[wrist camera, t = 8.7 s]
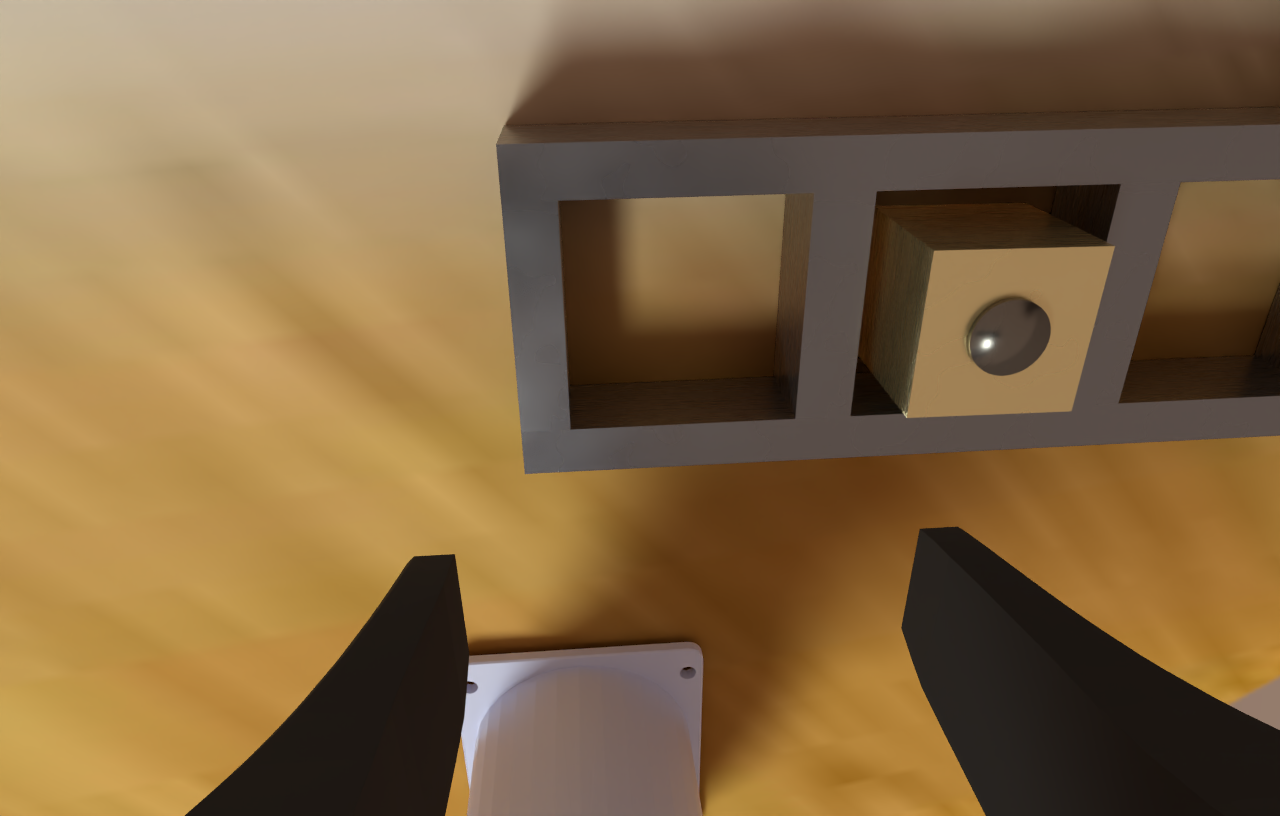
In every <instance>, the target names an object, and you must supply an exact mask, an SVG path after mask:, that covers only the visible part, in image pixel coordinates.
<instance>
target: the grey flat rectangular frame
mask: <svg viewBox="0 0 1280 816" xmlns="http://www.w3.org/2000/svg"><path fill="white" fill-rule="evenodd" d="M496 147H497V159H498V170H499V182H500V193H501V205H502V216H503V228H504V239H505V251H506V262H507V274H508V285H509V297H510V308H511V319H512V331H513V342H514V354H515V365H516V377H517V388H518V400H519V411H520V423H521V434H522V446H523V457H524V469H525V474H532V473H552V472H571V471H591V470H611V469H630V468H650V467H670V466H689V465H709V464H729V463H748V462H768V461H788V460H807V459H827V458H847V457H866V456H886V455H906V454H925V453H945V452H965V451H984V450H1004V449H1024V448H1043V447H1063V446H1083V445H1102V444H1122V443H1142V442H1161V441H1181V440H1201V439H1220V438H1240V437H1260V436H1279V435H1280V285H1279V288H1278V290H1277V293H1276V296H1275V299H1274V302H1273V304H1272V307H1271V310H1270V313H1269V316H1268V319H1267V321H1266V324H1265V327H1264V330H1263V333H1262V335H1261V338H1260V341H1259V344H1258V347H1257V350H1256V352H1255V355H1252V356H1229V357H1206V358H1184V359H1161V360H1138V361H1130V360H1131V357H1132V353H1133V350H1134V346H1135V342H1136V339H1137V335H1138V332H1139V328H1140V325H1141V321H1142V318H1143V314H1144V311H1145V307H1146V303H1147V300H1148V296H1149V293H1150V289H1151V286H1152V282H1153V279H1154V275H1155V271H1156V268H1157V264H1158V261H1159V257H1160V254H1161V250H1162V247H1163V243H1164V239H1165V236H1166V232H1167V229H1168V225H1169V222H1170V218H1171V215H1172V211H1173V207H1174V204H1175V200H1176V197H1177V193H1178V190H1179V186H1180V183H1181V182H1201V181H1234V180H1268V179H1280V107H1258V108H1217V109H1175V110H1133V111H1091V112H1049V113H1008V114H966V115H924V116H882V117H841V118H799V119H757V120H715V121H673V122H632V123H590V124H548V125H506V126H504V127H503V129H502V132H501V134H500V137H499V139H498V141H497V144H496ZM1033 186H1057V189H1056V194H1055V199H1054V203H1053V208H1052V212H1051V215H1052V216H1054V217H1056V218H1058V219H1060V220H1062V221H1064V222H1066V223H1068V224H1071V225H1073V226H1075V227H1077V228H1079V229H1081V230H1083V231H1085V232H1087V233H1089V234H1091V235H1093V236H1095V237H1097V238H1099V239H1101V240H1104V241H1106V242H1108V243H1110V244H1112V245H1114V246H1115V248H1114V252H1113V256H1112V259H1111V263H1110V267H1109V271H1108V275H1107V278H1106V282H1105V286H1104V290H1103V294H1102V297H1101V301H1100V305H1099V309H1098V313H1097V316H1096V320H1095V324H1094V328H1093V332H1092V335H1091V339H1090V343H1089V347H1088V350H1087V354H1086V358H1085V362H1084V366H1083V369H1082V373H1081V377H1080V381H1079V385H1078V388H1077V392H1076V396H1075V400H1074V404H1073V407H1072V411H1068V412H1043V413H1018V414H993V415H968V416H943V417H918V418H906V416H905V415H904V414H903V413H902V411H901V410H900V409H899V407H898V406H897V405H896V404H895V402H894V401H893V400H892V398H891V397H890V396H889V395H888V393H887V392H886V391H885V389H884V388H883V387H882V386H881V384H880V383H879V382H878V380H877V379H876V378H875V377H874V375H873V374H872V373H871V372H867V373H856V364H857V356H858V347H859V339H860V330H861V322H862V313H863V305H864V296H865V288H866V279H867V271H868V262H869V254H870V245H871V237H872V228H873V220H874V211H875V203H876V194H877V191H899V190H933V189H966V188H1000V187H1033ZM765 194H786V198H785V212H784V227H783V242H782V256H781V271H780V286H779V300H778V315H777V330H776V344H775V359H774V374H773V377H754V378H731V379H709V380H686V381H663V382H641V383H618V384H596V385H573V386H570V375H569V357H568V339H567V321H566V303H565V284H564V266H563V248H562V230H561V212H560V201H564V200H598V199H631V198H665V197H698V196H732V195H765Z"/></svg>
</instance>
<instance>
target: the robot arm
mask: <svg viewBox="0 0 1280 816" xmlns="http://www.w3.org/2000/svg"><path fill="white" fill-rule="evenodd" d="M901 628H902V631H903V634H904V637H905V640H906V643H907V646H908V649H909V652H910V655H911V658H912V661H913V664H914V667H915V670H916V672H917V675H918V678H919V681H920V684H921V686H922V689H923V691H924V693H925V695H926V697H927V699H928V701H929V703H930V705H931V707H932V709H933V711H934V713H935V715H936V717H937V719H938V721H939V723H940V725H941V727H942V730H943V732H944V734H945V736H946V738H947V740H948V742H949V743H950V745H951V747H952V749H953V751H954V753H955V755H956V757H957V759H958V761H959V763H960V765H961V767H962V769H963V771H964V773H965V775H966V777H967V779H968V781H969V783H970V785H971V787H972V789H973V791H974V793H975V795H976V797H977V799H978V801H979V803H980V805H981V807H982V809H983V811H984V813H985V815H986V816H1280V730H1278V729H1276V728H1274V727H1272V726H1270V725H1268V724H1265V723H1263V722H1261V721H1259V720H1257V719H1255V718H1253V717H1251V716H1249V715H1247V714H1245V713H1243V712H1241V711H1239V710H1237V709H1235V708H1233V707H1231V706H1229V705H1227V704H1226V703H1224V702H1222V701H1220V700H1218V699H1216V698H1214V697H1212V696H1210V695H1209V694H1207V693H1205V692H1203V691H1202V690H1200V689H1198V688H1196V687H1194V686H1193V685H1191V684H1189V683H1187V682H1186V681H1184V680H1182V679H1180V678H1178V677H1177V676H1175V675H1173V674H1171V673H1170V672H1168V671H1166V670H1164V669H1163V668H1161V667H1159V666H1158V665H1156V664H1154V663H1153V662H1151V661H1149V660H1148V659H1146V658H1144V657H1143V656H1141V655H1140V654H1138V653H1136V652H1135V651H1133V650H1132V649H1130V648H1129V647H1127V646H1126V645H1124V644H1123V643H1121V642H1119V641H1118V640H1116V639H1115V638H1113V637H1112V636H1110V635H1109V634H1107V633H1106V632H1104V631H1102V630H1101V629H1099V628H1098V627H1096V626H1095V625H1094V624H1092V623H1091V622H1089V621H1088V620H1086V619H1085V618H1083V617H1082V616H1080V615H1079V614H1077V613H1076V612H1075V611H1073V610H1072V609H1070V608H1069V607H1068V606H1066V605H1065V604H1063V603H1062V602H1061V601H1059V600H1058V599H1056V598H1055V597H1054V596H1052V595H1051V594H1049V593H1048V592H1047V591H1045V590H1044V589H1043V588H1041V587H1040V586H1038V585H1037V584H1036V583H1034V582H1033V581H1032V580H1030V579H1029V578H1028V577H1026V576H1025V575H1024V574H1022V573H1021V572H1020V571H1018V570H1017V569H1016V568H1014V567H1013V566H1011V565H1010V564H1009V563H1007V562H1006V561H1005V560H1003V559H1002V558H1001V557H999V556H998V555H997V554H995V553H994V552H993V551H991V550H990V549H989V548H987V547H986V546H985V545H983V544H982V543H981V542H979V541H978V540H976V539H975V538H974V537H972V536H971V535H969V534H968V533H966V532H965V531H964V530H962V529H961V528H959V527H944V528H926V529H920V531H919V536H918V542H917V547H916V552H915V558H914V563H913V568H912V574H911V579H910V585H909V590H908V595H907V601H906V606H905V611H904V617H903V622H902V627H901ZM685 667H692V668H691V669H688V670H682V669H683V668H685ZM468 681H470V682H474V683H475V684H467V682H468ZM702 686H703V655H702V650H701V648H700V647H699V645H698V644H695V643H693V642H677V643H661V644H646V645H630V646H615V647H599V648H584V649H568V650H553V651H537V652H522V653H506V654H491V655H475V656H469V649H468V642H467V635H466V628H465V621H464V614H463V607H462V601H461V594H460V587H459V580H458V573H457V566H456V559H455V554H451V555H433V556H415V557H413V558H412V559H411V560H410V561H409V562H408V563H407V565H406V566H405V568H404V569H403V571H402V572H401V574H400V575H399V577H398V578H397V580H396V581H395V583H394V584H393V586H392V587H391V589H390V590H389V592H388V593H387V595H386V596H385V597H384V599H383V600H382V602H381V603H380V605H379V606H378V607H377V609H376V610H375V612H374V613H373V614H372V616H371V617H370V619H369V620H368V621H367V623H366V624H365V625H364V627H363V628H362V629H361V631H360V632H359V633H358V634H357V636H356V637H355V638H354V640H353V641H352V642H351V644H350V645H349V646H348V648H347V649H346V650H345V652H344V653H343V654H342V655H341V657H340V658H339V659H338V660H337V662H336V663H335V664H334V665H333V667H332V668H331V669H330V670H329V671H328V672H327V674H326V675H325V676H324V677H323V678H322V680H321V681H320V682H319V683H318V684H317V685H316V687H315V688H314V689H313V690H312V691H311V692H310V694H309V695H308V696H307V697H306V698H305V700H304V701H303V702H302V703H301V704H300V705H299V706H298V707H297V709H296V710H295V711H294V712H293V713H292V714H291V715H290V716H289V717H288V718H287V719H286V721H285V722H284V723H283V724H282V725H281V726H280V727H279V728H278V729H277V730H276V731H275V732H274V733H273V734H272V735H271V736H270V737H269V738H268V739H267V740H266V741H265V742H264V743H263V744H262V745H261V746H260V747H259V748H258V749H257V750H256V751H255V752H254V753H253V754H252V755H251V756H250V757H249V758H248V759H247V760H246V761H245V762H244V763H243V764H242V765H241V766H240V767H239V768H238V769H236V770H235V771H234V772H233V773H232V774H231V775H230V776H229V777H228V778H227V779H226V780H224V781H223V782H222V783H221V784H220V785H219V786H218V787H217V788H216V789H215V790H213V791H212V792H211V793H210V794H209V795H208V796H207V797H205V798H204V799H203V800H202V801H201V802H200V803H199V804H197V805H196V806H195V807H194V808H193V809H192V810H191V811H189V812H188V813H187V814H186V815H185V816H445V813H446V808H447V803H448V798H449V793H450V788H451V783H452V778H453V773H454V768H455V763H456V758H457V753H458V748H459V743H460V738H461V737H462V743H463V750H464V756H465V763H466V769H467V776H468V782H469V789H470V794H469V802H468V811H467V816H703V815H702V809H701V802H700V796H699V782H700V750H701V718H702Z"/></svg>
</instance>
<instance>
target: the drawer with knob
mask: <svg viewBox="0 0 1280 816" xmlns="http://www.w3.org/2000/svg"><path fill="white" fill-rule="evenodd" d="M1114 248H1115V246H1114V245H1112V244H1110V243H1108V242H1106V241H1104V240H1101V239H1099V238H1097V237H1095V236H1093V235H1091V234H1089V233H1087V232H1085V231H1083V230H1081V229H1079V228H1077V227H1075V226H1073V225H1071V224H1068V223H1066V222H1064V221H1062V220H1060V219H1058V218H1056V217H1054V216H1052V215H1050V214H1048V213H1046V212H1044V211H1042V210H1040V209H1038V208H1036V207H1033V206H1031V205H1029V204H1027V203H993V204H946V205H900V206H875V211H874V220H873V228H872V237H871V245H870V254H869V262H868V271H867V279H866V288H865V296H864V305H863V313H862V322H861V330H860V339H859V347H858V356H859V357H860V359H861V360H862V361H863V362H864V364H865V365H866V366H867V368H868V369H869V370H870V371H871V373H872V374H873V375H874V377H875V378H876V379H877V380H878V382H879V383H880V384H881V386H882V387H883V388H884V389H885V391H886V392H887V393H888V395H889V396H890V397H891V398H892V400H893V401H894V402H895V404H896V405H897V406H898V407H899V409H900V410H901V411H902V413H903V414H904V415H905V416H906V418H918V417H943V416H968V415H993V414H1018V413H1043V412H1068V411H1072V407H1073V404H1074V400H1075V396H1076V392H1077V388H1078V385H1079V381H1080V377H1081V373H1082V369H1083V366H1084V362H1085V358H1086V354H1087V350H1088V347H1089V343H1090V339H1091V335H1092V332H1093V328H1094V324H1095V320H1096V316H1097V313H1098V309H1099V305H1100V301H1101V297H1102V294H1103V290H1104V286H1105V282H1106V278H1107V275H1108V271H1109V267H1110V263H1111V259H1112V256H1113V252H1114Z"/></svg>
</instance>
